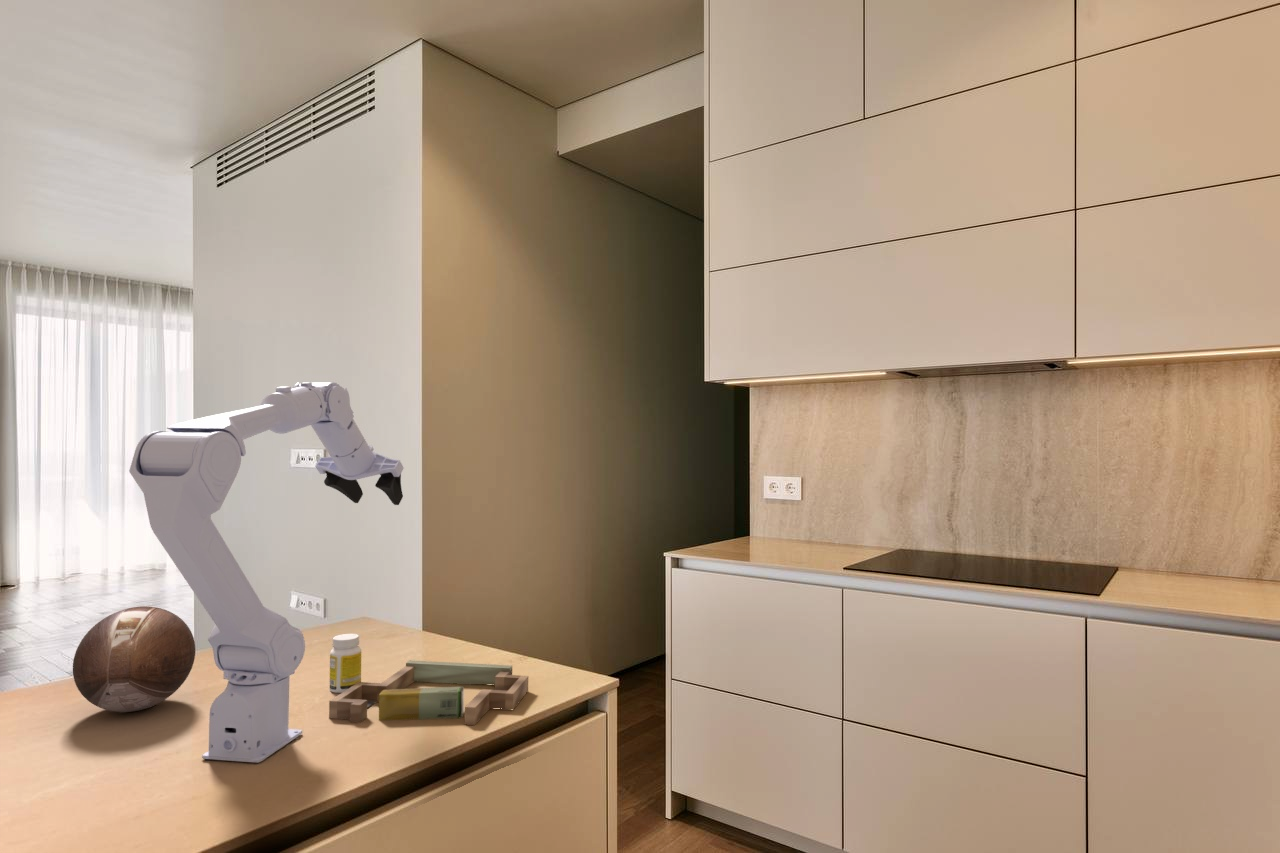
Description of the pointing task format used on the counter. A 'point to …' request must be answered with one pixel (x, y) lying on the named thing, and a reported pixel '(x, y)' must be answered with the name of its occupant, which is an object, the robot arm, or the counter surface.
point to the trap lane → (504, 695)
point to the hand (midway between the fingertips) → (378, 499)
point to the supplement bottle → (345, 662)
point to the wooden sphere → (134, 659)
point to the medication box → (421, 703)
